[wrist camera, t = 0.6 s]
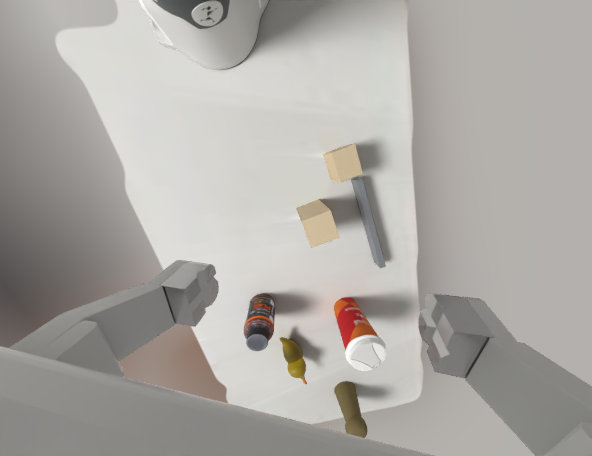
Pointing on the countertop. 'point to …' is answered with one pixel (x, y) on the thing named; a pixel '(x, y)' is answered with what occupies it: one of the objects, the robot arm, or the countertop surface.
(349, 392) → the cork
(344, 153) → the tea box
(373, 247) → the rail
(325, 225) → the tan rectangular block
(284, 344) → the yellow toy bird
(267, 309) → the supplement bottle
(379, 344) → the paper cup
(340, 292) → the countertop surface
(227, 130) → the countertop surface
